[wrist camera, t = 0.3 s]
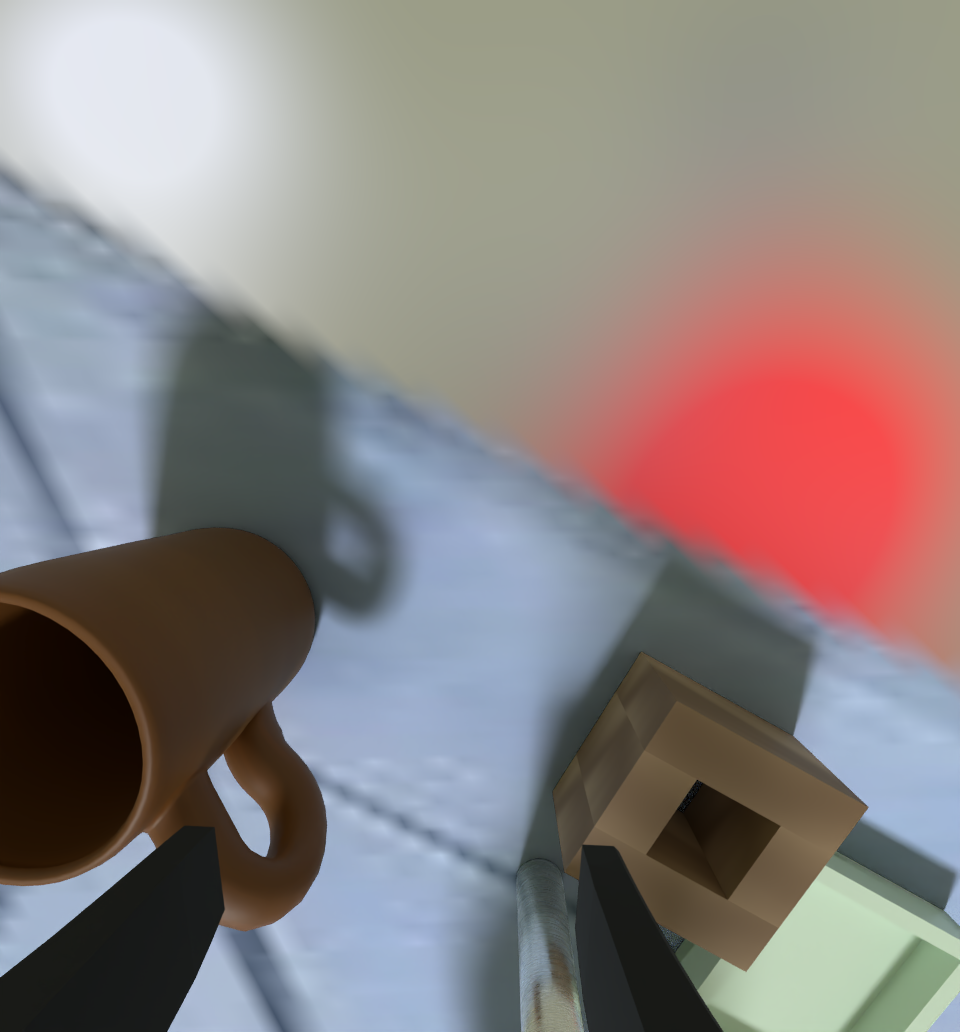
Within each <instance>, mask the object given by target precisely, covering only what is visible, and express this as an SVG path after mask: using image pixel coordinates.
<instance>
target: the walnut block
mask: <svg viewBox="0 0 960 1032" xmlns="http://www.w3.org/2000/svg"><path fill="white" fill-rule="evenodd" d="M696 780H699V781H701V782H702V783H703V785H702V786H701V788H700V789H699V791H698V792H697V794H696V795H695V797H694V798H693V799H692V801H691V802H690V804H689V805H688V807H687V808H686V810H685V811H684V813H682V812H680V811H679V810H677V808H678V807H679V805H680V804H681V802H682V801H683V799H684V798H685V796H686V795H687V794H688V792H689V791H690V789H691V788H692V786H693V785H694V783H695V782H696ZM552 792H553V799H554V806H555V813H556V819H557V826H558V833H559V840H560V846H561V853H562V860H563V867H564V872H565V873H566V874H568V875H570V876H572V877H574V878H576V879H577V880H579V875H580V863H581V851H582V845H603V846H614V847H615V848H616V849H617V850H618V851H619V852H620V854H621V856H622V858H623V860H624V862H625V864H626V866H627V868H628V870H629V872H630V874H631V876H632V878H633V880H634V882H635V884H636V886H637V888H638V890H639V891H640V893H641V895H642V897H643V899H644V901H645V903H646V904H647V906H648V908H649V910H650V911H651V913H652V915H653V917H654V919H655V920H656V922H657V923H658V924H659V925H661V926H663V927H665V928H667V929H668V930H670V931H672V932H674V933H676V934H678V935H679V936H681V937H683V938H685V939H687V940H689V941H690V942H692V943H694V944H696V945H698V946H699V947H701V948H703V949H705V950H707V951H709V952H710V953H712V954H714V955H716V956H718V957H719V958H721V959H723V960H725V961H727V962H729V963H730V964H732V965H734V966H736V967H738V968H739V969H741V970H743V971H745V972H747V970H748V969H749V968H750V966H751V965H752V964H753V962H754V961H755V960H756V958H757V957H758V956H759V954H760V953H761V951H762V950H763V949H764V947H765V946H766V945H767V943H768V942H769V941H770V939H771V938H772V937H773V935H774V934H775V933H776V931H777V930H778V929H779V927H780V926H781V925H782V923H783V922H784V921H785V919H786V918H787V916H788V915H789V914H790V912H791V911H792V910H793V908H794V907H795V906H796V904H797V903H798V902H799V900H800V899H801V898H802V896H803V895H804V894H805V892H806V891H807V890H808V888H809V887H810V886H811V884H812V883H813V881H814V880H815V879H816V877H817V876H818V875H819V873H820V872H821V871H822V869H823V868H824V867H825V865H826V864H827V863H828V861H829V860H830V859H831V857H832V856H833V855H834V853H835V852H836V851H837V849H838V848H839V846H840V845H841V844H842V842H843V841H844V840H845V838H846V837H847V836H848V834H849V833H850V832H851V830H852V829H853V828H854V826H855V825H856V824H857V822H858V821H859V820H860V818H861V817H862V816H863V814H864V813H865V811H866V810H867V809H868V806H867V805H866V804H865V803H864V802H862V801H861V800H860V799H859V798H858V797H857V796H856V795H855V794H854V793H853V792H852V791H851V790H850V789H849V788H848V787H847V786H846V785H844V784H843V783H842V782H841V781H840V780H839V779H838V778H837V777H836V776H835V775H834V774H833V773H832V772H831V771H830V770H829V769H828V768H827V767H825V766H824V765H823V764H822V763H821V762H820V761H819V760H818V759H817V758H816V757H815V756H814V755H813V754H812V753H811V752H810V751H809V750H808V749H806V748H805V747H804V746H803V745H802V744H801V743H800V742H799V741H798V740H797V739H796V738H795V737H794V736H792V735H790V734H788V733H787V732H785V731H783V730H781V729H779V728H778V727H776V726H774V725H772V724H770V723H769V722H767V721H765V720H763V719H761V718H760V717H758V716H756V715H754V714H752V713H751V712H749V711H747V710H745V709H743V708H742V707H740V706H738V705H736V704H735V703H733V702H731V701H729V700H727V699H726V698H724V697H722V696H720V695H718V694H717V693H715V692H713V691H711V690H709V689H708V688H706V687H704V686H702V685H700V684H699V683H697V682H695V681H693V680H691V679H690V678H688V677H686V676H684V675H682V674H681V673H679V672H677V671H675V670H673V669H672V668H670V667H668V666H666V665H664V664H663V663H661V662H659V661H657V660H655V659H654V658H652V657H650V656H648V655H647V654H645V653H643V652H641V653H640V654H639V656H638V657H637V659H636V661H635V662H634V664H633V665H632V667H631V668H630V670H629V672H628V673H627V675H626V676H625V678H624V679H623V681H622V683H621V684H620V686H619V687H618V689H617V690H616V692H615V694H614V695H613V697H612V698H611V700H610V702H609V703H608V705H607V706H606V708H605V709H604V711H603V713H602V714H601V716H600V717H599V719H598V720H597V722H596V724H595V725H594V727H593V728H592V730H591V731H590V733H589V735H588V736H587V738H586V739H585V741H584V742H583V744H582V746H581V747H580V749H579V750H578V752H577V754H576V755H575V757H574V758H573V760H572V761H571V763H570V765H569V766H568V768H567V769H566V771H565V772H564V774H563V776H562V777H561V779H560V780H559V782H558V783H557V785H556V787H555V788H554V790H553V791H552Z"/></svg>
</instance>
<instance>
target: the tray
mask: <svg viewBox="0 0 960 1032" xmlns="http://www.w3.org/2000/svg"><path fill="white" fill-rule="evenodd" d="M675 955H676V956H677V958H678V960H679V961H680V963H681V965H682V966H683V968H684V970H685V971H686V973H687V974H688V976H689V978H690V979H691V981H692V983H693V984H694V986H695V988H696V989H697V991H698V993H699V994H700V996H701V997H702V999H703V1000H704V1002H705V1004H706V1005H707V1007H708V1008H709V1010H710V1011H711V1013H712V1015H713V1016H714V1018H715V1019H716V1021H717V1022H718V1024H719V1025H720V1027H721V1028H722V1030H723V1031H724V1032H927V1031H928V1029H929V1028H930V1027H931V1026H932V1024H933V1023H934V1022H935V1021H936V1020H937V1018H938V1017H939V1016H940V1015H941V1014H942V1012H943V1011H944V1010H945V1009H946V1007H947V1006H948V1005H949V1004H950V1003H951V1001H952V1000H953V999H954V998H955V997H956V995H957V994H958V993H959V992H960V926H959V925H958V924H957V923H956V922H955V921H954V920H953V919H952V918H951V917H950V916H949V915H948V914H947V913H946V912H945V911H943V910H941V909H940V908H938V907H936V906H934V905H932V904H931V903H929V902H927V901H925V900H923V899H922V898H920V897H918V896H916V895H914V894H913V893H911V892H909V891H907V890H905V889H904V888H902V887H900V886H898V885H896V884H895V883H893V882H891V881H889V880H887V879H886V878H884V877H882V876H880V875H878V874H876V873H875V872H873V871H871V870H869V869H867V868H866V867H864V866H862V865H860V864H858V863H857V862H855V861H853V860H851V859H849V858H848V857H846V856H844V855H842V854H840V853H839V852H837V851H836V852H835V853H834V855H833V856H832V857H831V859H830V860H829V861H828V863H827V864H826V865H825V867H824V868H823V869H822V871H821V872H820V873H819V875H818V876H817V877H816V879H815V880H814V881H813V883H812V884H811V886H810V887H809V888H808V890H807V891H806V892H805V894H804V895H803V896H802V898H801V899H800V900H799V902H798V903H797V904H796V906H795V907H794V908H793V910H792V911H791V912H790V914H789V915H788V916H787V918H786V919H785V921H784V922H783V923H782V925H781V926H780V927H779V929H778V930H777V931H776V933H775V934H774V935H773V937H772V938H771V939H770V941H769V942H768V943H767V945H766V946H765V947H764V949H763V950H762V951H761V953H760V954H759V956H758V957H757V958H756V960H755V961H754V962H753V964H752V965H751V966H750V968H749V969H748V970H747V972H745V971H743V970H741V969H739V968H738V967H736V966H734V965H732V964H730V963H729V962H727V961H725V960H723V959H721V958H719V957H718V956H716V955H714V954H712V953H710V952H709V951H707V950H705V949H703V948H701V947H699V946H698V945H696V944H694V943H692V942H690V941H689V940H687V939H685V940H684V941H683V942H682V944H681V945H680V947H679V948H678V949H677V951H676V952H675Z"/></svg>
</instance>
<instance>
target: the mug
mask: <svg viewBox="0 0 960 1032" xmlns="http://www.w3.org/2000/svg"><path fill="white" fill-rule="evenodd" d="M314 630H315V611H314V603H313V600H312V596H311V592H310V590H309V587H308V585H307V583H306V580H305V579H304V577H303V575H302V573H301V572H300V570H299V569H298V568H297V566H296V565H295V564H294V562H293V561H292V560H291V559H290V558H289V557H288V556H287V555H286V554H285V553H284V552H283V551H282V550H281V549H279V548H278V547H277V546H276V545H274V544H272V543H271V542H269V541H268V540H266V539H264V538H262V537H260V536H258V535H255V534H253V533H250V532H246V531H243V530H237V529H232V528H216V527H214V528H203V529H195V530H190V531H185V532H180V533H176V534H171V535H166V536H161V537H156V538H151V539H145V540H140V541H135V542H130V543H126V544H121V545H117V546H112V547H107V548H103V549H98V550H93V551H89V552H84V553H79V554H75V555H70V556H66V557H61V558H56V559H52V560H47V561H43V562H39V563H34V564H30V565H26V566H22V567H18V568H14V569H11V570H8V571H5V572H2V573H0V884H3V885H16V886H34V885H45V884H51V883H56V882H61V881H64V880H67V879H70V878H73V877H76V876H79V875H81V874H83V873H85V872H87V871H89V870H91V869H93V868H95V867H97V866H99V865H101V864H103V863H104V862H106V861H107V860H109V859H110V858H112V857H113V856H115V855H116V854H117V853H118V852H120V851H121V850H122V849H123V848H124V847H126V846H127V845H128V844H129V843H130V842H131V841H132V840H133V839H134V838H135V837H137V836H138V835H139V834H140V833H142V832H145V833H148V835H149V836H150V838H151V840H152V841H153V843H154V845H155V847H156V849H157V848H158V847H159V846H160V845H162V844H163V843H164V842H165V841H166V840H167V839H169V838H170V837H171V836H172V835H173V834H175V833H176V832H177V831H178V830H180V829H181V828H182V827H183V826H205V827H215V835H216V843H217V851H218V858H219V866H220V874H221V882H222V890H223V898H224V906H225V911H224V913H223V915H222V918H221V920H220V923H219V925H222V926H225V927H229V928H233V929H236V930H240V931H248V930H252V929H255V928H259V927H262V926H266V925H270V924H272V923H274V922H276V921H278V920H279V919H281V918H282V917H283V916H285V915H286V914H287V913H288V912H289V911H291V910H292V909H293V908H294V907H295V906H297V905H298V904H299V903H300V902H301V901H302V900H303V898H304V896H305V895H306V893H307V892H308V890H309V888H310V887H311V885H312V883H313V882H314V880H315V878H316V876H317V875H318V873H319V870H320V866H321V863H322V859H323V856H324V852H325V845H326V832H327V820H326V810H325V805H324V801H323V798H322V794H321V791H320V789H319V786H318V784H317V782H316V780H315V778H314V776H313V774H312V773H311V771H310V770H309V768H308V767H307V765H306V764H305V763H304V761H303V760H302V759H301V758H300V757H299V755H298V754H297V753H296V752H295V751H294V750H293V749H292V748H291V747H290V746H289V745H288V744H287V742H286V741H285V739H284V737H283V734H282V729H281V728H280V726H279V724H278V722H277V720H276V717H275V714H274V710H273V706H272V701H273V700H274V699H275V698H276V697H277V696H278V695H279V694H280V693H281V692H282V691H283V690H284V689H285V688H286V686H287V685H288V684H289V683H290V682H291V680H292V679H293V678H294V677H295V676H296V674H297V673H298V672H299V670H300V668H301V667H302V665H303V663H304V662H305V660H306V657H307V655H308V653H309V650H310V648H311V645H312V641H313V637H314ZM222 754H224V756H225V759H226V762H227V765H228V767H229V769H230V771H231V773H232V774H233V776H234V778H235V779H236V781H237V782H238V783H239V785H240V786H241V787H242V788H243V789H244V790H245V791H246V792H247V793H248V794H249V795H250V796H251V797H252V798H253V799H254V800H255V801H256V802H257V803H258V804H259V806H260V807H261V808H262V810H263V811H264V813H265V815H266V817H267V820H268V822H269V828H270V846H269V850H268V854H267V856H266V857H262V856H260V855H258V854H257V853H255V852H253V851H251V850H250V849H249V848H248V846H247V845H246V844H245V843H244V841H243V840H242V838H241V837H240V835H239V833H238V831H237V829H236V827H235V825H234V824H233V822H232V820H231V818H230V816H229V814H228V812H227V811H226V809H225V807H224V805H223V803H222V801H221V799H220V798H219V796H218V794H217V792H216V790H215V788H214V786H213V784H212V782H211V780H210V777H209V775H208V773H207V770H208V769H209V768H210V767H211V766H212V765H213V764H214V763H215V762H216V760H217V759H218V758H219V757H220V756H221V755H222Z"/></svg>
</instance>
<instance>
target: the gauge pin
mask: <svg viewBox="0 0 960 1032" xmlns="http://www.w3.org/2000/svg"><path fill="white" fill-rule="evenodd" d="M516 882H517V914H518V946H519V978H520V1010H521V1032H584V1029H583V1022H582V1015H581V1008H580V1001H579V993H578V986H577V979H576V972H575V965H574V958H573V951H572V944H571V937H570V930H569V923H568V916H567V908H566V901H565V894H564V887H563V880H562V875H561V872H560V870H559V869H558V867H557V866H556V865H555V864H553V863H552V862H550V861H548V860H544V859H533V860H530V861H527V862H526V863H524V864H523V865H522V866H521V867H520V869H519V870H518V873H517V878H516Z"/></svg>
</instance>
